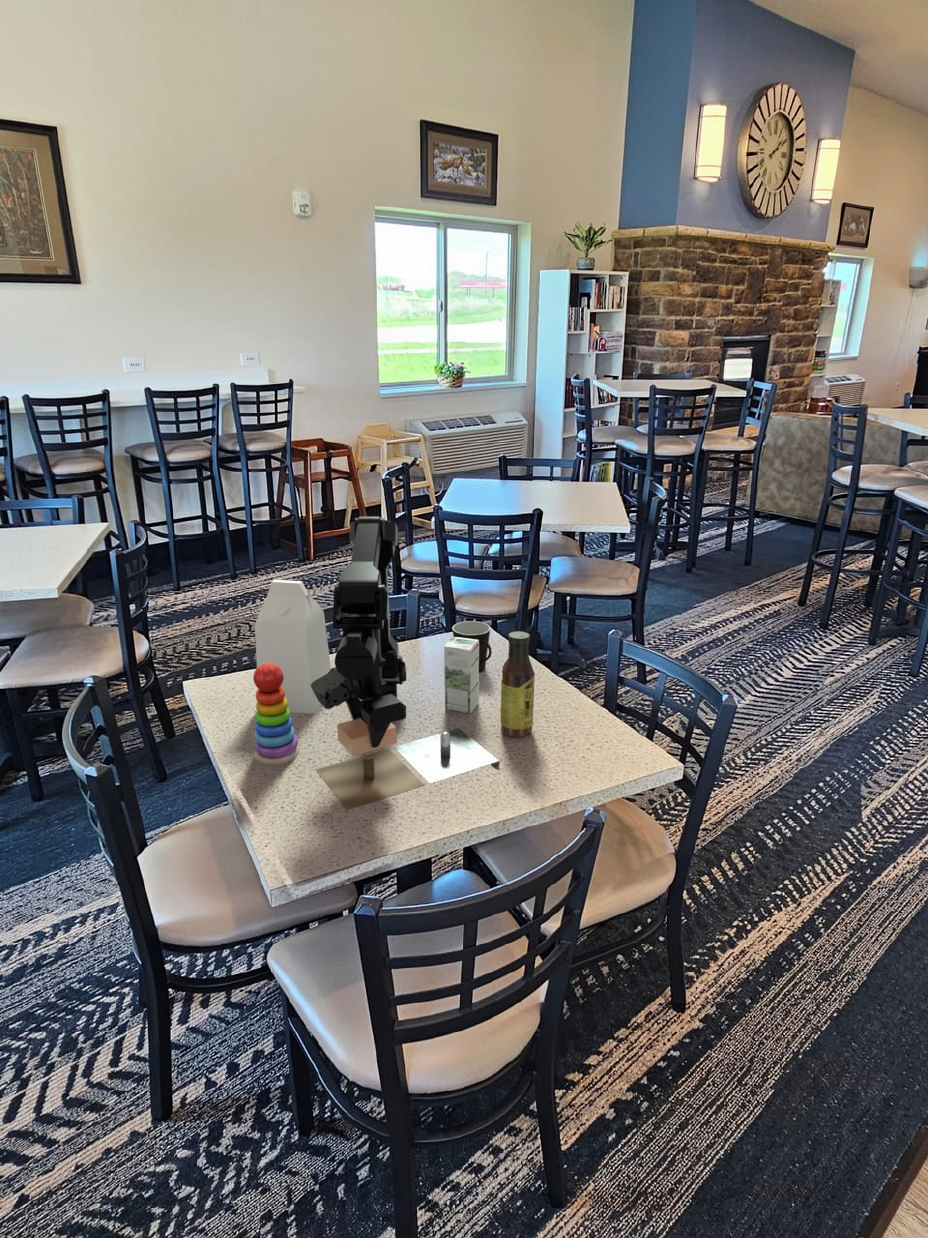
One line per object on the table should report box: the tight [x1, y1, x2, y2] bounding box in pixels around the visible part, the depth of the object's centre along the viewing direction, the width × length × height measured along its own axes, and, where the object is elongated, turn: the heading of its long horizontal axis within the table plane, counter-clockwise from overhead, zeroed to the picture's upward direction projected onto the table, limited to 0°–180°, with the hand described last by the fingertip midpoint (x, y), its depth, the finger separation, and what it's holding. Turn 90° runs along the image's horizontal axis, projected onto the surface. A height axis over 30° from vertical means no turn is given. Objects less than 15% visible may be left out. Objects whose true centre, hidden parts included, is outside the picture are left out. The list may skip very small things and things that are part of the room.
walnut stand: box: [315, 748, 425, 811], centre depth 129 cm, size 14×14×4 cm
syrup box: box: [443, 636, 480, 715], centre depth 153 cm, size 6×6×14 cm
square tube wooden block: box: [336, 718, 398, 757], centre depth 126 cm, size 6×8×3 cm
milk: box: [254, 579, 332, 715], centre depth 155 cm, size 12×12×26 cm
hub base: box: [393, 727, 500, 784], centre depth 136 cm, size 14×14×5 cm
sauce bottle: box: [500, 631, 535, 738], centre depth 143 cm, size 7×6×20 cm
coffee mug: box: [451, 620, 493, 674], centre depth 171 cm, size 12×9×10 cm
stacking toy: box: [253, 663, 301, 766], centre depth 134 cm, size 8×8×19 cm
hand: (367, 738), depth 126 cm, fingers closed on square tube wooden block, 6 cm apart
